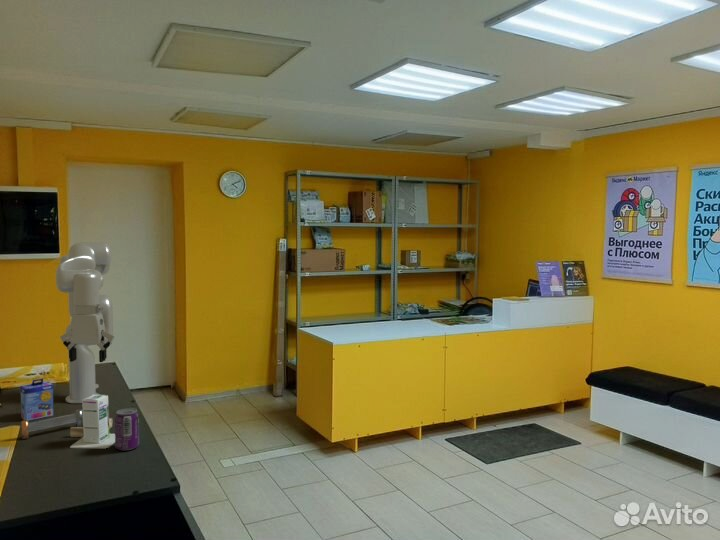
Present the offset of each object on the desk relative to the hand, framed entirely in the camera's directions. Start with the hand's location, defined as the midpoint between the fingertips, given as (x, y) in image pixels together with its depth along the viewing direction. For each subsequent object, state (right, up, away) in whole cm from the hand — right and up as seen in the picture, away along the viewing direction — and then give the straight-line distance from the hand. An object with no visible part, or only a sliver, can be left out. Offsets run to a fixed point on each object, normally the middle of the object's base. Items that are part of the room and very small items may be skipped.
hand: (87, 361), depth 190 cm
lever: (-15, -25, +6) cm, 30 cm away
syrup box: (+4, -26, -1) cm, 26 cm away
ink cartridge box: (-29, -24, +22) cm, 44 cm away
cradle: (-3, -26, +8) cm, 27 cm away
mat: (+4, -26, -1) cm, 27 cm away
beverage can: (+16, -27, -6) cm, 32 cm away
